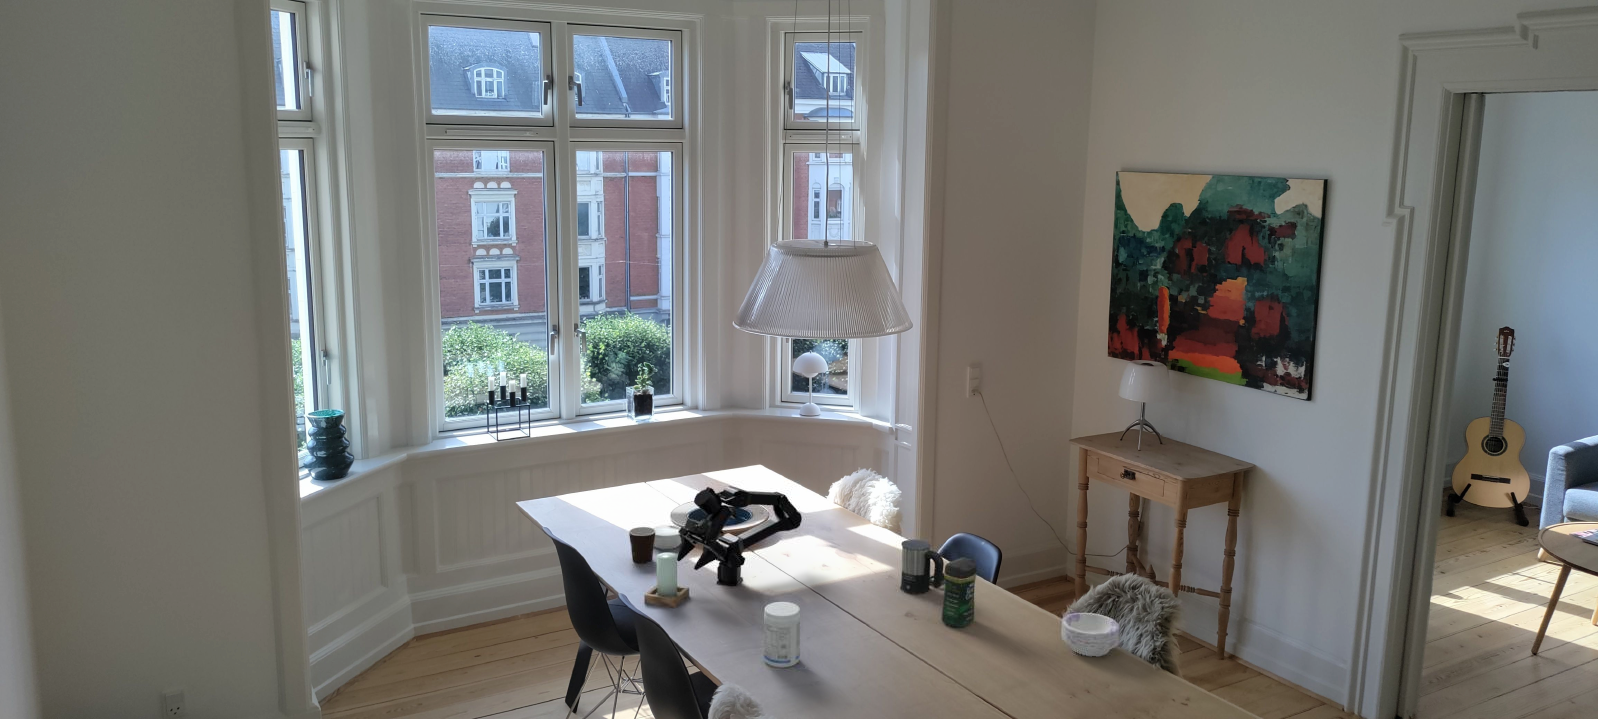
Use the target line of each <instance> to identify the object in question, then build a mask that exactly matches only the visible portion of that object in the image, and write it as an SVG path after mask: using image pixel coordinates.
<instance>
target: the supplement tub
mask: <svg viewBox="0 0 1598 719" xmlns="http://www.w3.org/2000/svg"><path fill="white" fill-rule="evenodd" d="M800 610H801V608H800V607H799V605H797V604H796V603H792V602H788V601H777V602H772V603H768V604H767V605H766V606H765V607H764V613H763V660H764V661H765V663H766V664H768V665H769V666H772V667H774V668H790V667H793V666H794V665H797V663H798V662H799V661H800V658H801V657H800V656H801V613H800V612H801V611H800Z"/></svg>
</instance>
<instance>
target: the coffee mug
mask: <svg viewBox="0 0 1598 719" xmlns="http://www.w3.org/2000/svg"><path fill="white" fill-rule="evenodd" d="M653 528H654V527H648V526H638V527H633V528H631V529H630V530H628V536H629V542H630V550H631V558H632V562H633V563H634V564H640V565H642V564H649V563H651V562H652V561H653V558H654V548H655V546H654V540H655V529H653Z"/></svg>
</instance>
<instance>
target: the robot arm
mask: <svg viewBox="0 0 1598 719" xmlns="http://www.w3.org/2000/svg"><path fill="white" fill-rule="evenodd" d="M693 503H694V504H695V505H696V506H697V507H698V508H699V509H700V510H702V512H703V513H705V515H707V516H708V517H707V518H703V519H701V520H700V521H698V520H695V519H693V518H689V517H688V518H687V519H686V521H685V524H684V526H682V527H680V528H681V529H680V530H679V531H678V533H679V534H681V535H679V536H680V537H681V544H680V545H679V546H680V547H679V551H678V553H677V562H681V561H682V560H683V559H685V557H687V555H688V554H690V552H692V551H693V550H694V548H696V545H697V544H700V545H702V546H703V547H702V553H701V554H700V556H699V558H698V560H697V561H696V563H695V565H694V566H693V569H694V570H695V571H698V570H700V569H702V568H703V567H705V566H706V565H708V564H710V563H712V562H714V561H717V562H718V566H717V567H716V568H717V570H716V571H717V578H716V579H717V580H716V584H719V585H725V586H731V587H732V586H733V587H736V586H738V585H739V583H741V582H742V580H744V578H743V577H742V566H744V565H745V562H746V557H745V556H743V553H744V551H745V550H746V549H747V548H751V547H752V546H754V545H755V544H758V543H760V542H761V541H762V542H763V541H764V540H765V539H767V538H769V537H771V536H774V535H775V534H777V533H780V532H790V531H792V530H796V529H798V528H800V527H801V524H802V518H803V516H802V514H801V512H799V511H798V509H797V508H796V506H794V505H793V504H792V502H791V501H790V500H789V498H788V497H787V495H785V494H784V493H780V492H778V491H773V492H771V491H756V490H755V491H754V490H753V491H752V490H751V491H750V490H745V489H742V488H738V487H735V486H731V485H727V486H726V487H725V488H724V489H723V490H719V491H717V492H715V490H714V489H713V488H712V487H710V486H707V487H706V488H705V489H703V490H700V491H699V492H697V493H696V495H695V496H694V500H693ZM752 505H753V506H772V511H773V514H772V516H771V518H769V519H768V520H765V521H763V522H761V523H760V524H758V525H756V526H754V527H752V528H750V529H748V530H745V531H744V532H742V533H741V534H739V535H733V534H732V533H730V532H729V533H725V532H724V531H723V529H724V528H725V527H726V525H727V523H728V522H729V520H730V519H731V518H732V519H734V520H737V519H738V515H737V509H743V508H747V507H749V506H752ZM729 506H730V507H732V508H730V507H729ZM734 508H735V509H734ZM724 533H725V534H724ZM723 534H724V535H723ZM719 535H721V536H719ZM722 535H723V536H722ZM716 539H717V540H716Z"/></svg>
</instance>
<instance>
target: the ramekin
mask: <svg viewBox="0 0 1598 719" xmlns="http://www.w3.org/2000/svg"><path fill="white" fill-rule="evenodd" d="M652 528H653V529H655V540H654V548H656V549H661V550H671V549H675V548H678V547H679V546H681V537H680V536H679V535H681V534H679V533H678V531H679V530H680V529H681V527H680V526H676V525H670V524H669V525H667V524H666V525H658V526H654V527H652Z"/></svg>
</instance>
